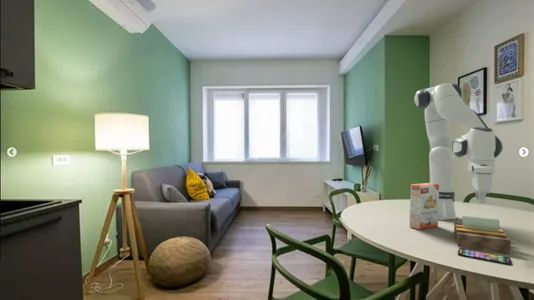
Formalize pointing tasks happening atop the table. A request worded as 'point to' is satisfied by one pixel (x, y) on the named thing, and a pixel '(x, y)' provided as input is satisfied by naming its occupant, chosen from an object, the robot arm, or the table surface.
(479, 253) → the smartphone
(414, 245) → the table surface
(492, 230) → the panel
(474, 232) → the rack
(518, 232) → the table surface
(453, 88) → the robot arm
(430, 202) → the cracker box
